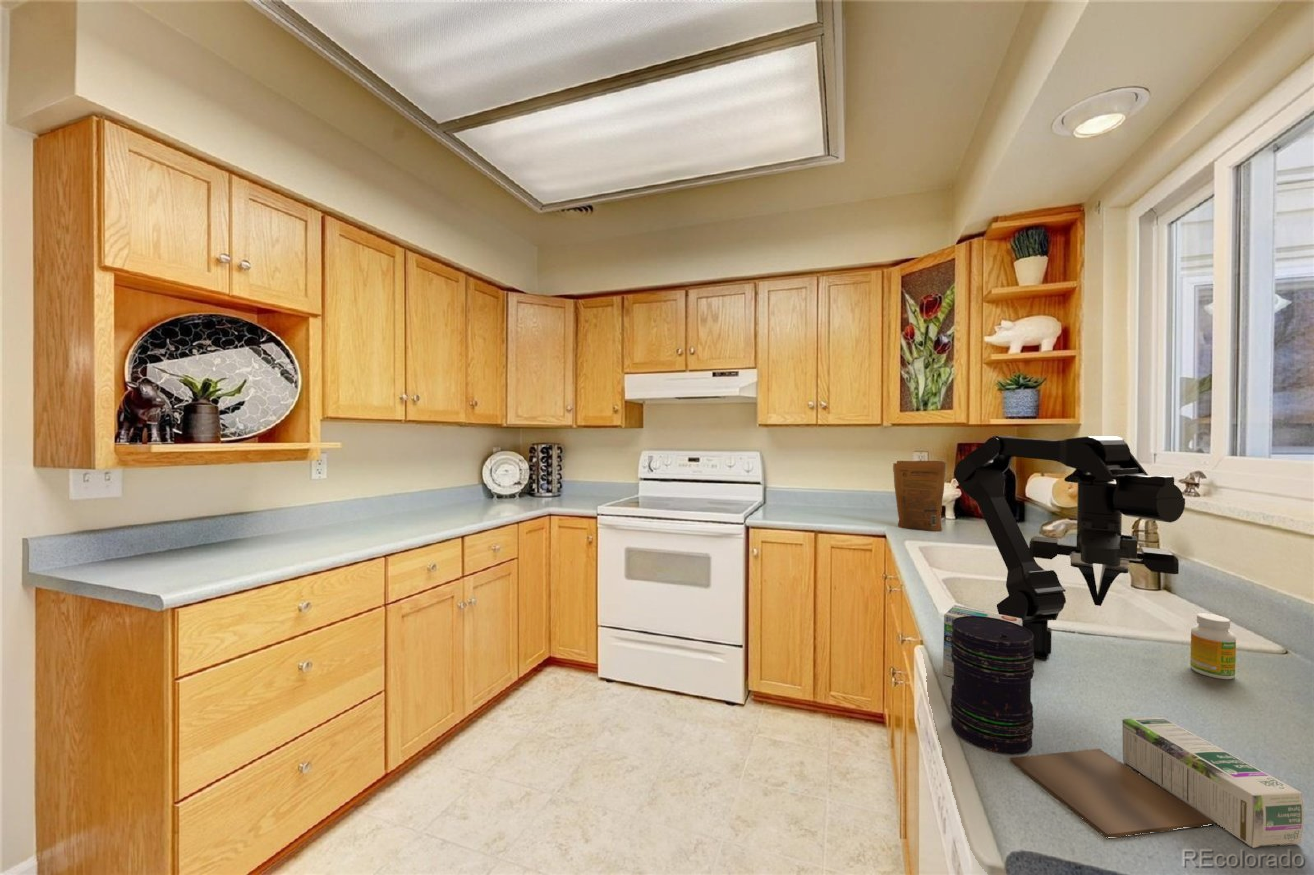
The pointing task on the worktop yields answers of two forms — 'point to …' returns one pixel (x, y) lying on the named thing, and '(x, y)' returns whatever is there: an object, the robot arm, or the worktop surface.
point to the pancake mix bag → (919, 493)
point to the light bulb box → (948, 618)
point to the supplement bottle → (1213, 647)
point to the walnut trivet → (1108, 793)
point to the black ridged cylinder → (992, 684)
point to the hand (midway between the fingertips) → (1097, 605)
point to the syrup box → (1215, 782)
